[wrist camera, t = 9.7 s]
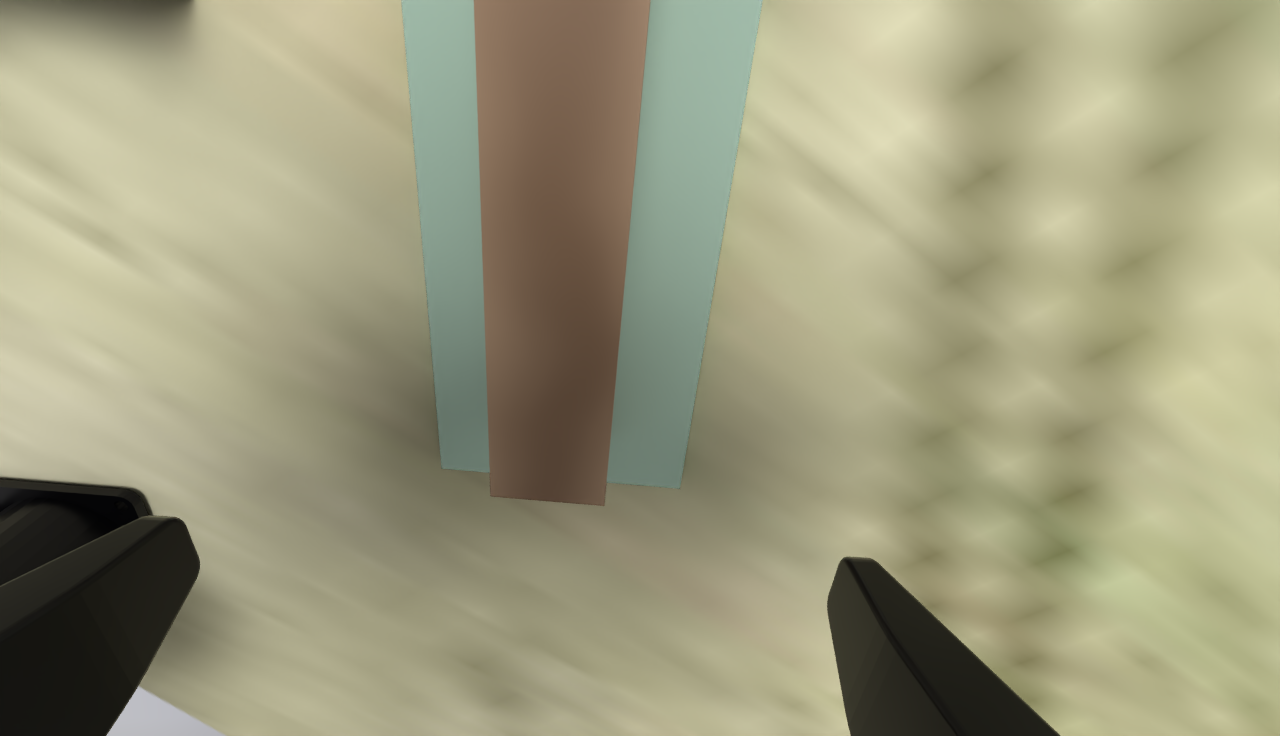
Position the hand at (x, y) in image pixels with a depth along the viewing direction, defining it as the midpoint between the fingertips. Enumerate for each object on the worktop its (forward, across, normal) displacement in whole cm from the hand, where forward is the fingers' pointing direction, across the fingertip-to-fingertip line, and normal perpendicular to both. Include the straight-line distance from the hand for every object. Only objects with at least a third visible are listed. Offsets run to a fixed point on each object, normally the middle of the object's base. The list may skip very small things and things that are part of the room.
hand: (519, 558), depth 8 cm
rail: (+11, 0, -4) cm, 12 cm away
